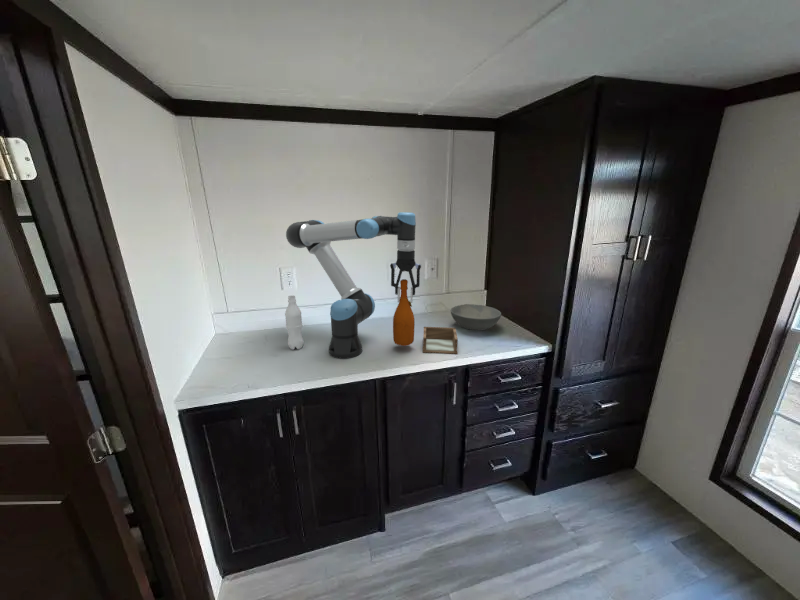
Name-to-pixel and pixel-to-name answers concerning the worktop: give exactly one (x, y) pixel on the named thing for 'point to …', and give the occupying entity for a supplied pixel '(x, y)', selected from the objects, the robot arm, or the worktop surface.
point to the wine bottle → (403, 319)
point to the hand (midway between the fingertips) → (405, 301)
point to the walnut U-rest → (440, 340)
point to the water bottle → (294, 324)
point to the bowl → (475, 316)
